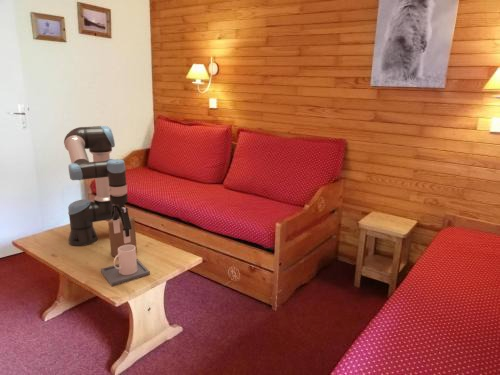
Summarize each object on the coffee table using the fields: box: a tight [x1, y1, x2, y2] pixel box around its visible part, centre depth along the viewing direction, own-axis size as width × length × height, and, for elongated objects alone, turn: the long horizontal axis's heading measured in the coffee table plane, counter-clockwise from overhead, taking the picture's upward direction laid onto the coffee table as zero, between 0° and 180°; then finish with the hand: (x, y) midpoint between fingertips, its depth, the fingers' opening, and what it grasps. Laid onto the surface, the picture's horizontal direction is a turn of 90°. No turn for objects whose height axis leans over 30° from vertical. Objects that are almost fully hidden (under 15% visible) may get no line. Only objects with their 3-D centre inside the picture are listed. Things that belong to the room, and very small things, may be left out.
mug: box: [113, 245, 138, 275], centre depth 176 cm, size 12×8×12 cm
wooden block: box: [107, 216, 138, 258], centre depth 196 cm, size 10×10×20 cm
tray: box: [100, 258, 151, 287], centre depth 178 cm, size 16×18×2 cm
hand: (122, 237), depth 173 cm, fingers open, 13 cm apart
